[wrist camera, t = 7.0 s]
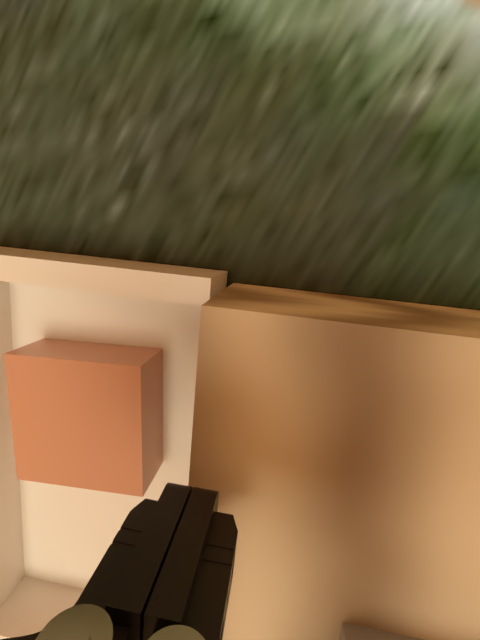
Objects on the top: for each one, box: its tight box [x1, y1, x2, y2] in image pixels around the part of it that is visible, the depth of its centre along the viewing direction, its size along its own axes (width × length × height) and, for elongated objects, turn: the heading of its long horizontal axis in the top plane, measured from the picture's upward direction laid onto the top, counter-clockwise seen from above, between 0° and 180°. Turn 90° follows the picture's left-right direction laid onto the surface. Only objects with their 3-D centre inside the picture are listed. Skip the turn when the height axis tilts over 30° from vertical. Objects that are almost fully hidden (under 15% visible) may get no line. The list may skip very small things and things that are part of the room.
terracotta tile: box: [4, 338, 163, 497], centre depth 16 cm, size 6×6×2 cm
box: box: [0, 246, 228, 639], centre depth 17 cm, size 11×20×4 cm, turn 175°
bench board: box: [188, 283, 480, 640], centre depth 14 cm, size 12×19×6 cm, turn 174°
